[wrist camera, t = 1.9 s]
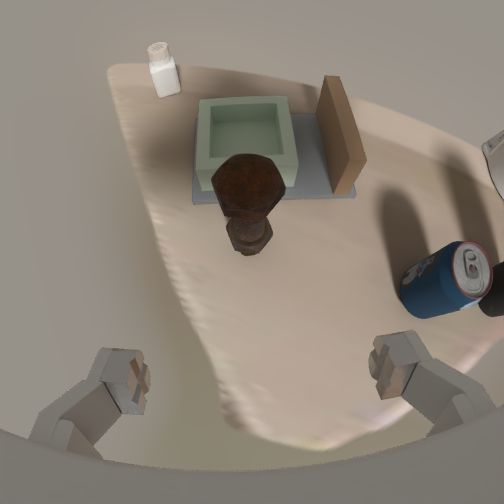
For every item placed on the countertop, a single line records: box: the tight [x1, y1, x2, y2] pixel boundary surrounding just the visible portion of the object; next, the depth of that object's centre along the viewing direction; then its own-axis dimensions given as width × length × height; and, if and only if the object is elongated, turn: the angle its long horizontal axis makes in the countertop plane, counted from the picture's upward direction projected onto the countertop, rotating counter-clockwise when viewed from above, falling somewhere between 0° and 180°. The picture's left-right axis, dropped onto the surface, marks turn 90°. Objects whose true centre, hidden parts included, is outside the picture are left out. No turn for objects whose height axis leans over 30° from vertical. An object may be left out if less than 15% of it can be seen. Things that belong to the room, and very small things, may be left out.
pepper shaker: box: [147, 42, 181, 98], centre depth 41 cm, size 4×4×10 cm
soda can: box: [400, 241, 493, 319], centre depth 29 cm, size 7×7×12 cm
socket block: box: [196, 95, 299, 191], centre depth 37 cm, size 12×12×5 cm
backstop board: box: [192, 76, 367, 205], centre depth 37 cm, size 21×14×9 cm, turn 93°
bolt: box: [211, 153, 286, 256], centre depth 30 cm, size 6×5×15 cm
